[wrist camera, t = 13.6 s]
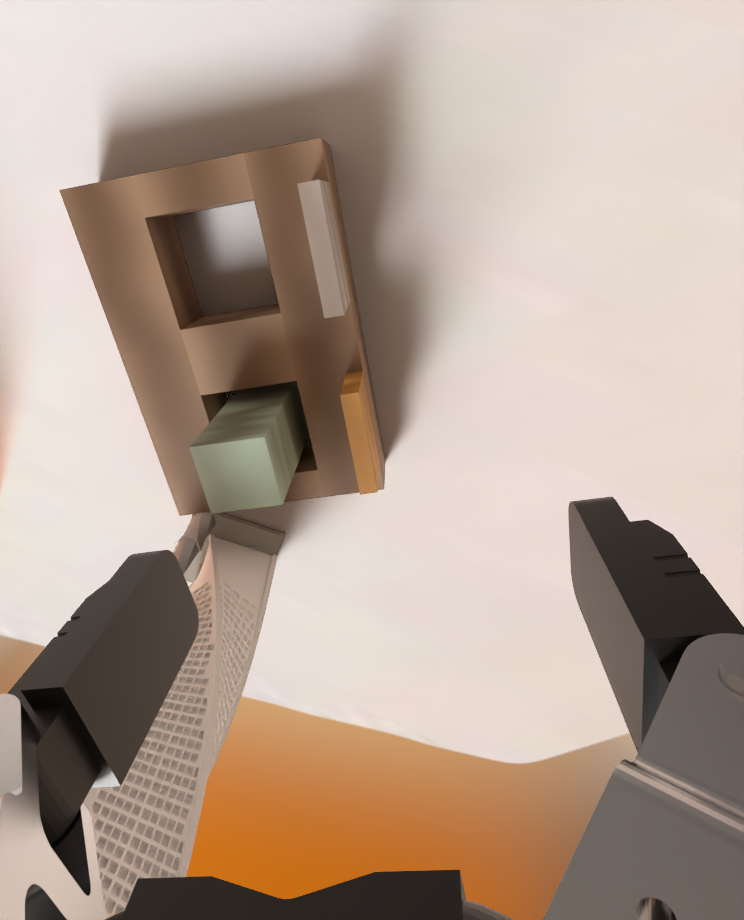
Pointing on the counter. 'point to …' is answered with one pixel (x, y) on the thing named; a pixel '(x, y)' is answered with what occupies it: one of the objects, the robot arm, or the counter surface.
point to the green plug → (252, 448)
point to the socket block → (237, 312)
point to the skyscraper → (188, 710)
